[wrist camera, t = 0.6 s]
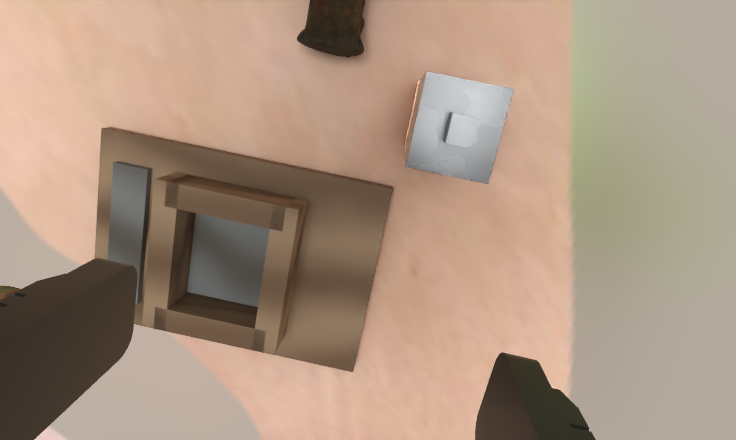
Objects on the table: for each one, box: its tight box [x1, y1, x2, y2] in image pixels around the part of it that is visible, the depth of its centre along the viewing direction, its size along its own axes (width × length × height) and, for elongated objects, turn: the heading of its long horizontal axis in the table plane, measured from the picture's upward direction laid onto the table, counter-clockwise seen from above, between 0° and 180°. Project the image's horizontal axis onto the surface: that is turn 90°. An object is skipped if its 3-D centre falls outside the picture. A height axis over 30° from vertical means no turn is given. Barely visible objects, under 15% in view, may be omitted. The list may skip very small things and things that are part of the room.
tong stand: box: [95, 127, 393, 372], centre depth 32 cm, size 14×20×4 cm
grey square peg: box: [404, 71, 514, 184], centre depth 25 cm, size 4×4×13 cm
